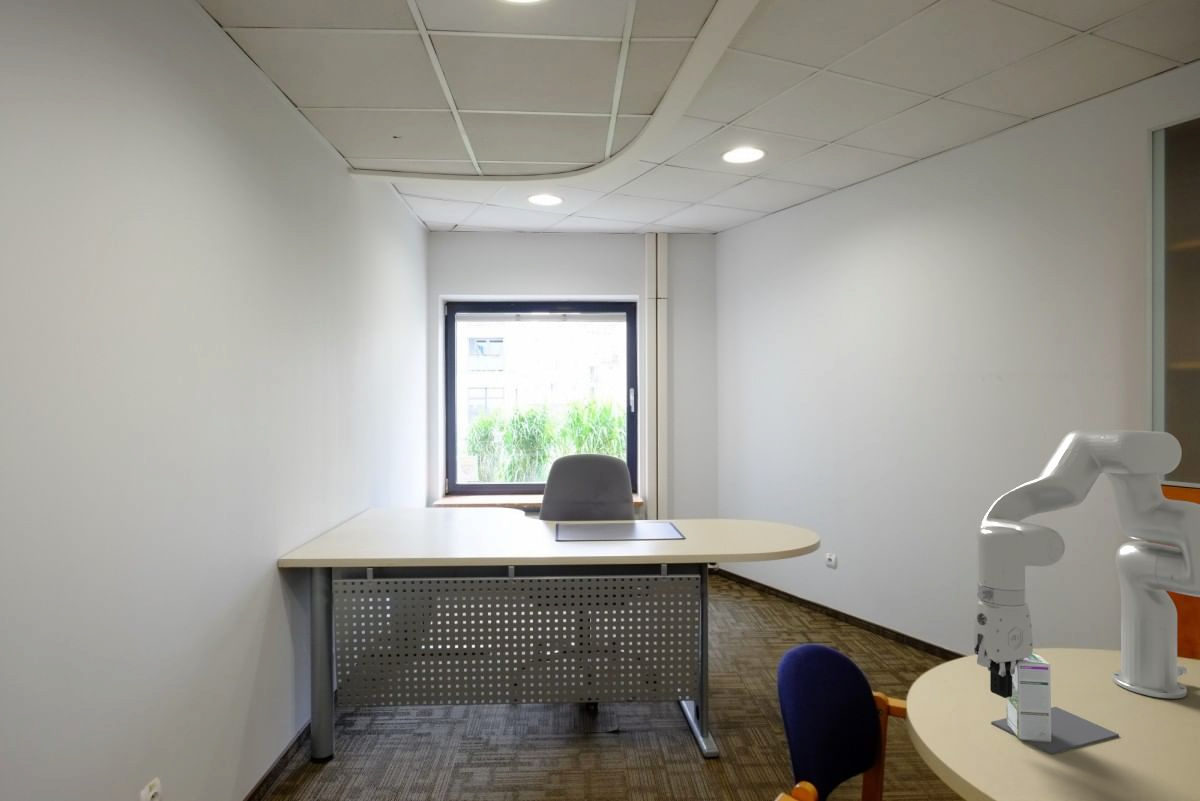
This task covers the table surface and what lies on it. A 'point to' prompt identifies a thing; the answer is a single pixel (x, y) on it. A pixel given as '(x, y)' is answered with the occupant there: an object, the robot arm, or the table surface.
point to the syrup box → (1030, 700)
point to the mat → (1066, 732)
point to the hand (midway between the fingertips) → (1001, 694)
